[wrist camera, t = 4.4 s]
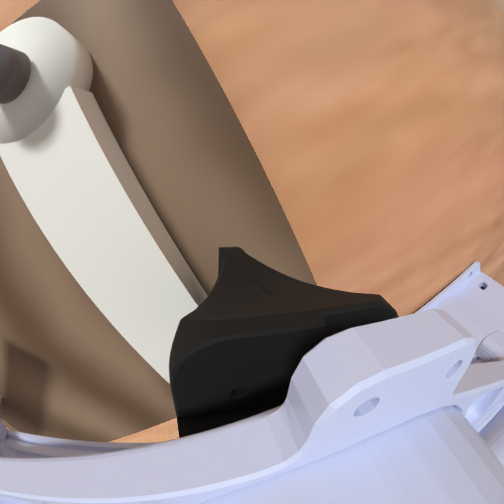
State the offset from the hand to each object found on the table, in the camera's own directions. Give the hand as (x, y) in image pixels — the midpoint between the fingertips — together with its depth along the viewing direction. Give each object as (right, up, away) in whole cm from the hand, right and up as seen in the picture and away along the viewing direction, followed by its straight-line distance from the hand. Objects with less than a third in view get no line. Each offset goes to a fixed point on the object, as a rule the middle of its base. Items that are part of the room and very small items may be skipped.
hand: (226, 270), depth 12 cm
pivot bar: (-4, +1, -1) cm, 4 cm away
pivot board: (-10, -2, 0) cm, 10 cm away
